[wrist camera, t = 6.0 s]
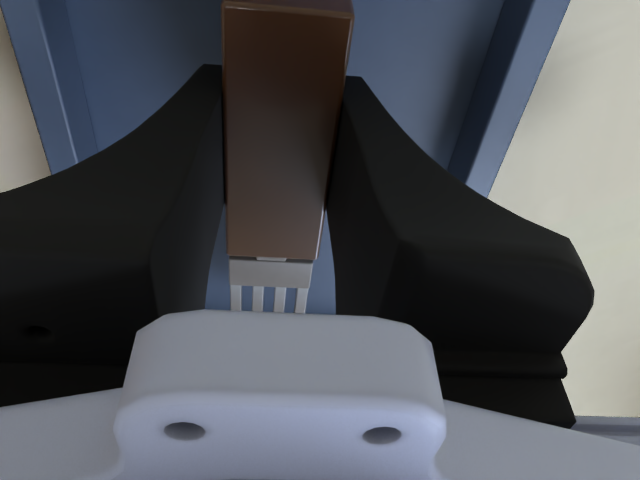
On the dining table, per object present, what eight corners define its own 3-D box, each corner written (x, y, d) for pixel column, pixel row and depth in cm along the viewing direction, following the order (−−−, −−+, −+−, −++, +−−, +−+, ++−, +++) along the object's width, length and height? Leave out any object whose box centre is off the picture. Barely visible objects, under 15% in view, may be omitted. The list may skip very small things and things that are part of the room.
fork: (225, -55, 11) (210, 1, 9) (354, -42, 11) (365, 14, 9) (231, 329, 20) (223, 396, 18) (301, 332, 20) (302, 398, 18)
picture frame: (404, 334, 23) (411, 378, 22) (121, 322, 22) (109, 368, 21) (594, -184, 11) (640, -162, 9) (-26, -266, 10) (-83, -256, 8)
